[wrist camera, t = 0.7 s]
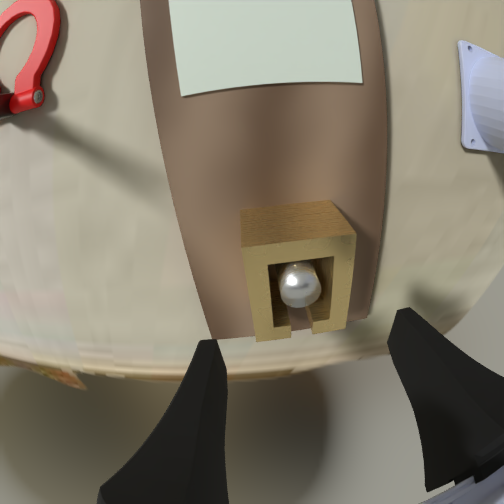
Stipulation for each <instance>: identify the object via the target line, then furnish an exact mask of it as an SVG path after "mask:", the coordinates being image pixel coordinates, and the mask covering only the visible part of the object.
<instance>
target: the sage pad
mask: <svg viewBox="0 0 504 504" xmlns="http://www.w3.org/2000/svg"><path fill="white" fill-rule="evenodd" d="M169 9H170V18H171V27H172V35H173V43H174V51H175V58H176V65H177V72H178V79H179V86H180V92H181V96H186V95H191V94H196V93H202V92H207V91H213V90H220V89H227V88H234V87H242V86H251V85H261V84H274V83H291V82H351V83H362V72H361V62H360V53H359V45H358V38H357V31H356V24H355V18H354V12H353V7H352V2H351V0H169Z"/></svg>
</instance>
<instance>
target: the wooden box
mask: <svg viewBox="0 0 504 504" xmlns="http://www.w3.org/2000/svg"><path fill="white" fill-rule="evenodd" d="M240 226H241V250H242V256H243V262H244V269H245V275H246V281H247V287H248V294H249V300H250V306H251V312H252V318H253V324H254V330H255V336H256V342H261V341H269V340H277V339H284V338H291V324H290V319H289V315H288V310H287V305H286V304H285V303H284V302H283V300H282V298H281V294H280V289H279V284H278V280H273V281H269V276H268V266H267V265H269V264H277V263H285V262H292V261H300V260H308V259H314V269H315V272H316V275H317V277H318V280H319V282H320V285H321V293H320V296H319V297H318V299H317V300H316V301H315V302H313V303H312V304H310V305H308V306H305V309H306V312H307V316H308V319H309V323H310V327H311V330H312V334H317V333H323V332H329V331H334V330H340V329H345V327H346V321H347V314H348V307H349V300H350V293H351V285H352V277H353V268H354V258H355V248H356V235H357V233H356V232H355V231H354V229H353V228H352V227H351V226H350V224H349V223H348V222H347V220H346V219H345V218H344V217H343V215H342V214H341V213H340V211H339V210H338V209H337V208H336V206H335V205H334V204H333V203H332V202H331V200H324V201H313V202H304V203H294V204H285V205H276V206H268V207H259V208H251V209H243V210H240Z"/></svg>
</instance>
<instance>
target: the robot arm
mask: <svg viewBox="0 0 504 504" xmlns="http://www.w3.org/2000/svg"><path fill="white" fill-rule="evenodd" d="M468 48H469V50H468ZM458 51H459V60H460V71H461V86H462V136H461V143H462V145H463V147H465V148H468V149H476V150H484V151H491V152H498V153H504V58H501V57H499V56H497V55H495V54H493V53H491V52H489V51H487V50H484V49H482V48H480V47H478V46H476V45H473V44H471V43H469V42H466V41H463V40H461V41H458ZM471 140H472V143H471ZM387 344H388V347H389V351H390V354H391V357H392V360H393V363H394V366H395V368H396V370H397V372H398V375H399V377H400V379H401V382H402V384H403V386H404V388H405V391H406V393H407V395H408V398H409V400H410V402H411V405H412V408H413V411H414V414H415V418H416V421H417V426H418V429H419V434H420V439H421V445H422V451H423V458H424V471H425V487H426V491H427V492H430V491H432V490H434V489H436V488H439V487H441V486H443V485H446V484H448V483H450V482H451V481H453V480H454V482H455V486H453V487H451V488H449V489H448V490H446V491H444V492H442V493H440V494H438V495H436V496H434V497H432V498H430V499H428V500H426V501H424V502H421V503H419V504H504V377H502V376H500V375H498V374H497V373H495V372H493V371H491V370H489V369H488V368H486V367H484V366H483V365H481V364H480V363H478V362H477V361H475V360H474V359H472V358H471V357H469V356H468V355H467V354H465V353H464V352H463V351H462V350H460V349H459V348H458V347H456V346H455V345H454V344H453V343H451V342H450V341H449V340H448V339H446V338H445V337H444V336H443V335H442V334H441V333H439V332H438V331H437V330H436V329H435V328H434V327H432V326H431V325H430V324H429V323H428V322H427V321H425V320H424V319H423V318H422V317H421V316H420V315H418V314H417V313H416V312H415V311H414V310H412V309H411V308H410V307H408V308H404V309H400V310H397V313H396V316H395V319H394V323H393V326H392V329H391V332H390V335H389V338H388V341H387ZM227 395H228V389H227V369H226V366H225V363H224V360H223V357H222V354H221V351H220V348H219V345H218V342H217V339H209V340H200V341H199V343H198V345H197V348H196V351H195V353H194V356H193V358H192V361H191V363H190V365H189V367H188V370H187V372H186V374H185V376H184V378H183V380H182V382H181V384H180V387H179V389H178V391H177V392H176V394H175V396H174V398H173V400H172V401H171V403H170V405H169V407H168V409H167V410H166V412H165V413H164V415H163V417H162V418H161V420H160V421H159V423H158V424H157V426H156V427H155V429H154V430H153V432H152V433H151V434H150V436H149V437H148V438H147V439H146V441H145V442H144V443H143V445H142V446H141V447H140V448H139V449H138V451H137V452H136V453H135V454H134V455H133V456H132V457H131V458H130V459H129V461H127V463H126V464H125V465H124V466H123V467H122V468H121V469H120V470H119V471H118V472H117V473H115V474H114V475H113V476H112V477H111V478H110V479H109V480H108V481H106V482H105V483H104V484H103V485H102V486H101V487H100V490H99V493H98V498H97V504H229V500H228V491H227V480H226V467H225V451H224V446H225V425H226V410H227Z"/></svg>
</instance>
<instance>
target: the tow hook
mask: <svg viewBox="0 0 504 504" xmlns="http://www.w3.org/2000/svg"><path fill="white" fill-rule="evenodd" d="M27 14H32V15H33V16H34V17H35V19H36V21H37V36H36V41H35V44H34V47H33V50H32V53H31V55H30V57H29V59H28V61H27V63H26V64H25V66H24V67H23V69H22V70H21V72H20V73H19V74H18V75H17V77H16V80H15V91H14V93H5V94H0V120H2V119H5V118H8V117H11V116H14V115H16V114H18V113H19V112H23V111H26V110H29V109H33V108H37V107H40V106H41V105H42V103H43V101H44V90H43V88H42V87H40V77H41V74H42V73H43V71H44V70H45V68H46V66H47V64H48V62H49V59H50V57H51V55H52V53H53V51H54V48H55V44H56V41H57V38H58V35H59V28H60V11H59V8H58V6H57V4H56V2H55V1H54V0H18V1H16V2H15V3H13V4H12V5H11V6H10V7H9V8H7V9H6V10H5V11H4V12H3V13H2V14H1V16H0V38H1V36H2V34H3V33H4V31H5V30H6V29H7V28H8V27H9V25H10V24H12V23H13V22H14V21H15V20H16V19H18V18H20V17H21V16H23V15H27ZM0 91H1V88H0Z"/></svg>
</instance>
